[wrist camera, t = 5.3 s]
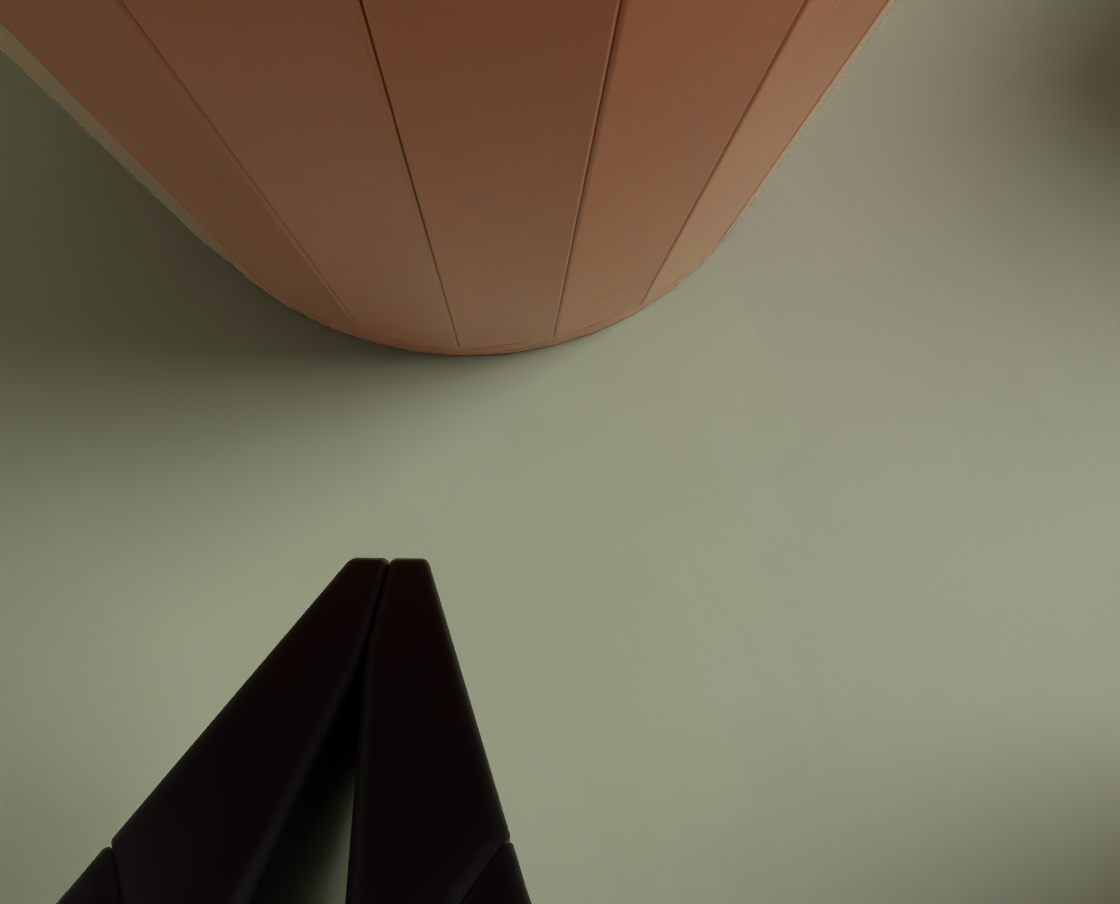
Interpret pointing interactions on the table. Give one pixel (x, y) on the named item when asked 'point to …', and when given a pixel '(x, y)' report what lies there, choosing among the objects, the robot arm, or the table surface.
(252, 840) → the robot arm
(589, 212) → the bucket
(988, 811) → the table surface
